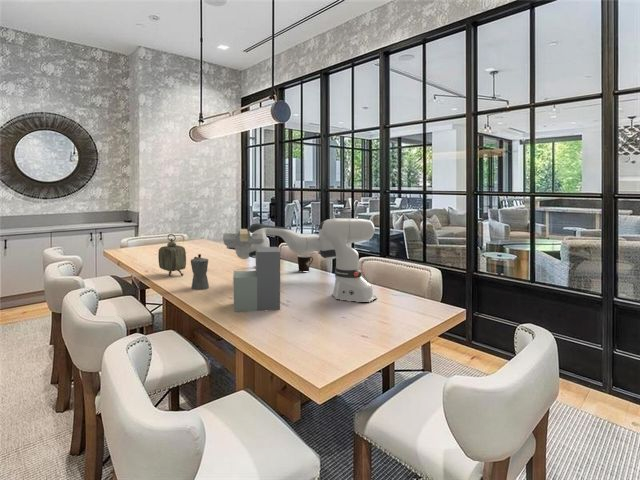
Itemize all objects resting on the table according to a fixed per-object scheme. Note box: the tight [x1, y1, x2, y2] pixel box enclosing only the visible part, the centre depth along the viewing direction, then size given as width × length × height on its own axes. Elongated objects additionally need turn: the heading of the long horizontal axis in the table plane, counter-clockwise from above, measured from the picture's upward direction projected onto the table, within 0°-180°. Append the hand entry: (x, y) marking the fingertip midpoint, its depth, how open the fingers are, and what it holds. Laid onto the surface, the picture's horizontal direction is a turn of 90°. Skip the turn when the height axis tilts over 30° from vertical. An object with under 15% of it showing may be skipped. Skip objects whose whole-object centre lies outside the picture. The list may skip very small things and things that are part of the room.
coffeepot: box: [190, 253, 210, 291], centre depth 211 cm, size 15×9×18 cm, turn 34°
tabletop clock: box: [157, 233, 187, 277], centre depth 236 cm, size 14×9×25 cm, turn 58°
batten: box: [239, 228, 248, 241], centre depth 191 cm, size 20×4×4 cm, turn 11°
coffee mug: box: [297, 254, 314, 272], centre depth 256 cm, size 12×9×10 cm
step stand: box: [232, 246, 281, 313], centre depth 179 cm, size 14×20×26 cm
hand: (243, 232), depth 197 cm, fingers closed on batten, 3 cm apart
